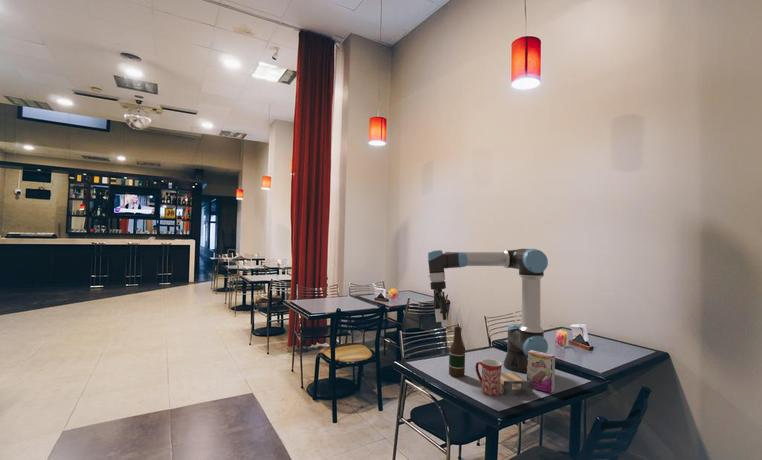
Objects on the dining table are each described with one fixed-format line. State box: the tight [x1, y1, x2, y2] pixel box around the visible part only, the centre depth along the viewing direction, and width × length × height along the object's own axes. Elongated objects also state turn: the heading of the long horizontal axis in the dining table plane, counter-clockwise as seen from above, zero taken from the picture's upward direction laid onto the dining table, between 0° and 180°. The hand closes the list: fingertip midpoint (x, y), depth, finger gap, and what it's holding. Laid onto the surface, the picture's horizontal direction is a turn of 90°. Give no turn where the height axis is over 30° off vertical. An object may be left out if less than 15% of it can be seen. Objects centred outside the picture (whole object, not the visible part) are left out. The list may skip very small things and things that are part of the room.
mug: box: [475, 358, 503, 397], centre depth 158 cm, size 13×9×14 cm
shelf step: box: [499, 372, 533, 396], centre depth 163 cm, size 13×16×6 cm
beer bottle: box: [448, 325, 466, 378], centre depth 178 cm, size 8×8×24 cm
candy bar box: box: [526, 350, 556, 395], centre depth 163 cm, size 11×5×16 cm, turn 49°
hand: (441, 324), depth 175 cm, fingers open, 13 cm apart
